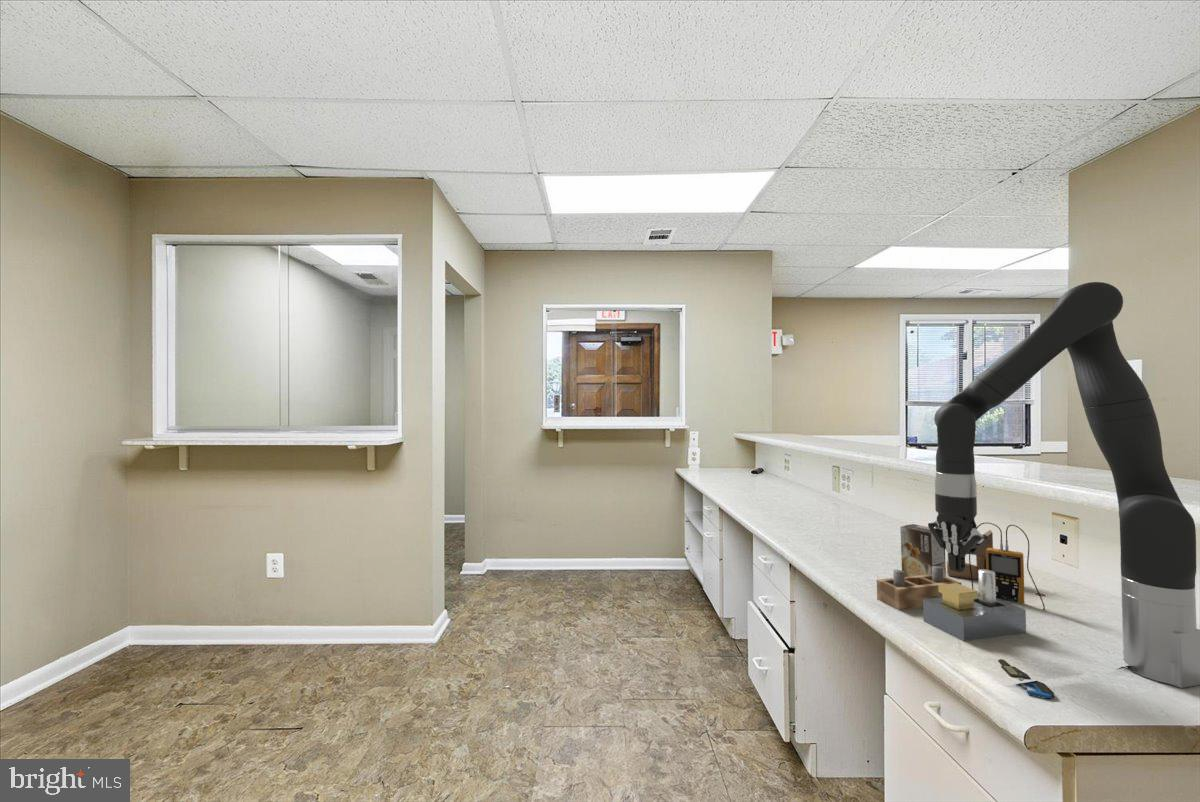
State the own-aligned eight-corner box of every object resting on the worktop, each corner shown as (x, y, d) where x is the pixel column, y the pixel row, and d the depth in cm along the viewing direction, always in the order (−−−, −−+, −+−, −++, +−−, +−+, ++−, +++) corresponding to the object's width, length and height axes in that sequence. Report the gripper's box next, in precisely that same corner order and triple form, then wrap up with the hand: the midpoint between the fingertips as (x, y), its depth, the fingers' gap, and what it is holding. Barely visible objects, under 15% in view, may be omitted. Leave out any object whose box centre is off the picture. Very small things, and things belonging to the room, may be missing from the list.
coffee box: (948, 588, 135) (946, 530, 135) (933, 592, 133) (931, 533, 133) (914, 578, 144) (913, 523, 144) (900, 582, 141) (899, 525, 141)
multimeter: (966, 605, 124) (963, 526, 124) (971, 593, 132) (969, 519, 132) (1044, 621, 114) (1041, 535, 114) (1044, 608, 122) (1042, 527, 122)
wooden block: (994, 582, 139) (992, 519, 140) (947, 576, 145) (946, 515, 145) (992, 578, 142) (990, 516, 143) (946, 572, 148) (945, 512, 148)
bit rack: (937, 596, 130) (936, 562, 130) (962, 606, 123) (961, 570, 123) (877, 603, 126) (876, 568, 126) (898, 614, 119) (898, 577, 120)
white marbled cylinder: (1000, 626, 110) (998, 573, 110) (989, 628, 109) (987, 574, 109) (986, 621, 113) (985, 568, 113) (976, 622, 112) (974, 569, 112)
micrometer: (1057, 693, 84) (1022, 688, 86) (1058, 704, 84) (1022, 699, 86) (1021, 657, 95) (990, 654, 97) (1021, 667, 95) (990, 663, 97)
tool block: (981, 618, 117) (981, 592, 117) (1026, 637, 107) (1025, 609, 107) (923, 625, 113) (923, 599, 113) (964, 645, 103) (963, 617, 103)
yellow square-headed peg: (957, 611, 112) (956, 583, 112) (978, 620, 107) (977, 591, 107) (939, 613, 111) (938, 585, 111) (959, 623, 106) (958, 593, 106)
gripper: (998, 497, 104) (1000, 579, 104) (943, 487, 117) (944, 560, 117) (969, 499, 102) (970, 582, 102) (916, 488, 115) (917, 562, 115)
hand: (956, 570), depth 109 cm, fingers closed
